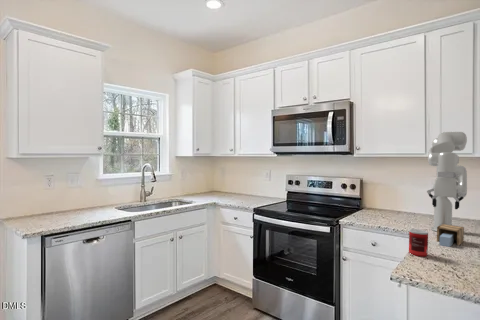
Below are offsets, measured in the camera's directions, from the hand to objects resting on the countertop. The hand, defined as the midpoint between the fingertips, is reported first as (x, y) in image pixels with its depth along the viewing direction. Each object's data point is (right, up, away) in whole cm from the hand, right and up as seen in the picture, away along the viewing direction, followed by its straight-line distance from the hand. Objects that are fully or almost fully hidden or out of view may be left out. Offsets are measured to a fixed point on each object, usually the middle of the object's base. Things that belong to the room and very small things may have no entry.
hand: (445, 207), depth 158 cm
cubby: (+8, -20, +8) cm, 23 cm away
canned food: (-25, -19, -17) cm, 36 cm away
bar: (+2, -20, +2) cm, 20 cm away
